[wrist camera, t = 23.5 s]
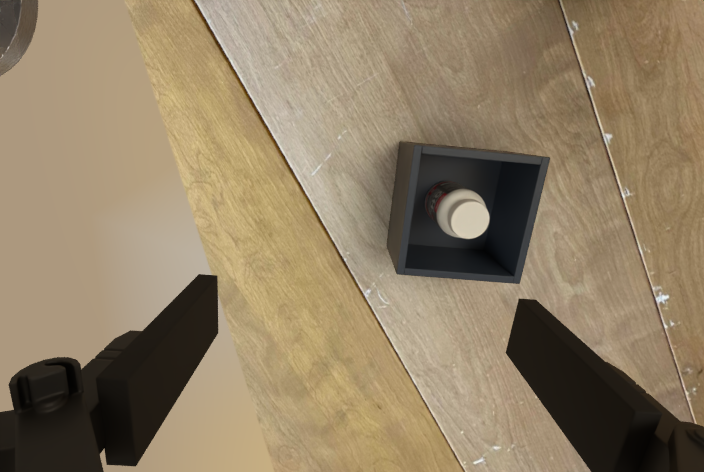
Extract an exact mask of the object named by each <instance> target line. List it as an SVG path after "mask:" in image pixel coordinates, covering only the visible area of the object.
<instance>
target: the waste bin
mask: <svg viewBox="0 0 704 472" xmlns="http://www.w3.org/2000/svg"><path fill="white" fill-rule="evenodd" d="M549 160H550V158H549V157H543V156H536V155H529V154H521V153H514V152H507V151H497V150H486V149H476V148H465V147H455V146H444V145H434V144H423V143H413V142H402V141H400V142H399V150H398V158H397V166H396V174H395V182H394V190H393V198H392V206H391V214H390V222H389V230H388V238H387V248H388V251H389V254H390V257H391V260H392V262H393V265H394V268H395V271H396V273H397V274H400V275H412V276H425V277H438V278H451V279H464V280H477V281H489V282H502V283H516V284H520V280H521V276H522V272H523V268H524V264H525V259H526V255H527V251H528V247H529V243H530V239H531V235H532V231H533V226H534V222H535V218H536V214H537V210H538V206H539V202H540V197H541V193H542V189H543V185H544V181H545V177H546V173H547V169H548V164H549ZM443 181H452V182H455V183H458V184H460V185H462V186H464V187H465V188H467V189H469V190H472V191H474V192H475V193H477V194H478V195H479V196H480V197H481V198H482V199H483V201H484V203H485V205H486V209H487V210H488V212H489V224H488V227H487V229H486V230H485V231H484V232H483V233H482V234H481V235H480V236H478V237H476V238H472V239H464V238H458V237H453V236H450V235H448V234H446V233H445V232H444V231H443V230H442V229H441V228H440V227H439V226H438V225H437V224H436V223H435V222H434V221H433V220H432V218H431V217H430V216H429V215H428V213H427V211H426V208H425V198H426V195H427V193H428V191H429V190H430V189H431V188H432V187H433V186H434V185H436V184H437V183H440V182H443Z"/></svg>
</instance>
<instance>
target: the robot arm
mask: <svg viewBox="0 0 704 472" xmlns="http://www.w3.org/2000/svg"><path fill="white" fill-rule="evenodd" d="M217 334H218V286H217V276H214V275H201V274H199V275H198V276H197V277H196V278H195V279H194V280H193V281H192V282H191V283H190V284H189V285H188V286H187V287H186V288H185V289H184V290H183V291H182V292H181V293H180V294H179V295H178V296H177V297H176V298H175V299H174V300H173V301H172V302H171V303H170V304H169V305H168V306H167V307H166V308H165V309H164V310H163V311H162V312H161V313H160V314H159V315H158V316H157V317H156V318H155V319H154V320H153V321H152V322H151V323H150V324H149V325H148V326H147V327H146V328H145V329H144V330H143V331H129V332H127V333H125V334H123V335H121V336H119V337H117V338H115V339H114V340H113V341H112V342H111V343H110V344H109V345H108V346H106V347H105V348H104V350H103V351H101V352H100V353H99V354H98V355H97V356H96V357H95V359H92V360H91V361H90V362H89V363H88V364H87V365H86V366H85V367H84V368H82V369H81V367H80V363H79V362H78V361H77V360H76V359H72V358H68V357H67V358H65V357H61V358H60V357H57V358H52V359H47V360H43V361H40V362H37V363H34V364H31V365H29V366H27V367H26V368H24V369H22V370H20V371H19V372H18V373H17V374H15V375H14V376H13V377H12V378H11V381H10V383H9V388H10V393H11V398H12V402H13V407H14V410H11V411H5V412H0V472H103V468H102V463H101V460H100V453H101V452H102V450H103V449H104V448H105V455H106V462H107V465H122V466H123V465H124V466H136V465H137V463H138V462H139V460H140V459H141V457H142V456H143V454H144V452H145V451H146V449H147V447H148V446H149V444H150V443H151V441H152V439H153V438H154V436H155V434H156V433H157V431H158V430H159V428H160V426H161V425H162V423H163V422H164V420H165V418H166V417H167V415H168V413H169V412H170V410H171V409H172V407H173V405H174V404H175V402H176V400H177V399H178V397H179V396H180V394H181V392H182V391H183V389H184V387H185V386H186V384H187V383H188V381H189V379H190V378H191V376H192V375H193V373H194V371H195V369H196V368H197V366H198V365H199V363H200V362H201V360H202V358H203V357H204V355H205V353H206V352H207V350H208V349H209V347H210V345H211V343H212V342H213V340H214V339H215V337H216V335H217ZM506 354H507V355H508V357H509V358H510V359H511V361H512V362H513V363H514V365H515V366H516V368H517V369H518V370H519V372H520V373H521V375H522V376H523V377H524V379H525V380H526V382H527V383H528V384H529V386H530V387H531V388H532V390H533V391H534V393H535V394H536V395H537V397H538V398H539V400H540V401H541V402H542V404H543V405H544V407H545V408H546V409H547V411H548V412H549V413H550V415H551V416H552V418H553V419H554V420H555V422H556V423H557V425H558V426H559V427H560V429H561V430H562V432H563V433H564V434H565V436H566V437H567V438H568V440H569V441H570V443H571V444H572V445H573V447H574V448H575V450H576V451H577V452H578V454H579V455H580V457H581V458H582V459H583V461H584V462H585V463H586V465H587V466H588V468H589V469H590V470H591V472H704V427H703V426H700V425H697V424H694V423H690V422H683V421H682V422H681V421H679V420H678V419H677V418H676V417H675V416H674V415H672V414H671V413H670V412H669V411H668V410H667V409H666V408H664V407H663V406H662V405H661V404H660V403H659V402H658V401H656V400H655V399H654V398H653V397H652V396H651V395H650V394H648V393H646V391H645V390H644V389H643V388H641V387H640V386H639V385H637V384H636V382H635V381H633V380H632V379H631V378H630V377H629V376H628V375H627V374H625V373H624V372H623V371H621V370H620V369H618V368H616V367H615V366H613V365H611V364H610V363H608V362H605V361H604V360H602V359H601V358H600V357H599V356H598V355H597V354H596V353H595V352H594V351H592V350H591V349H590V348H589V347H588V346H587V345H586V344H585V343H583V342H582V341H581V340H580V339H579V338H578V337H577V336H576V335H575V334H573V333H572V332H571V331H570V330H569V329H568V328H567V327H566V326H564V325H563V324H562V323H561V322H560V321H559V320H558V319H557V318H556V317H554V316H553V315H552V314H551V313H550V312H549V311H548V310H547V309H545V308H544V307H543V306H542V305H541V304H540V303H539V302H538V301H537V300H530V299H519V301H518V305H517V309H516V313H515V317H514V321H513V325H512V329H511V333H510V338H509V342H508V346H507V350H506Z"/></svg>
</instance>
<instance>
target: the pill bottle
mask: <svg viewBox="0 0 704 472" xmlns="http://www.w3.org/2000/svg"><path fill="white" fill-rule="evenodd" d="M425 208H426V211H427V213H428V215H429V216H430V217H431V218H432V220H433V221H434V222H435V223H436V224H437V225H438V226H439V227H440V228H441V229H442V230H443V231H444V232H445V233H446V234H448V235H450V236H453V237H458V238H464V239H472V238H476V237H478V236H480V235H481V234H482V233H483V232H484V231H485V230H486V229H487V227H488V224H489V212H488V210H487V209H486V205H485V203H484V201H483V199H482V198H481V197H480V196H479V195H478V194H477V193H475V192H474V191H472V190H469V189H467V188H465V187H464V186H462V185H460V184H458V183H455V182H452V181H443V182H440V183H437V184H436V185H434V186H433V187H432V188H431V189H430V190H429V191H428V193H427V195H426V198H425Z"/></svg>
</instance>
